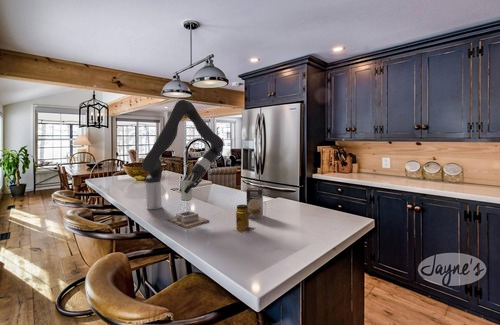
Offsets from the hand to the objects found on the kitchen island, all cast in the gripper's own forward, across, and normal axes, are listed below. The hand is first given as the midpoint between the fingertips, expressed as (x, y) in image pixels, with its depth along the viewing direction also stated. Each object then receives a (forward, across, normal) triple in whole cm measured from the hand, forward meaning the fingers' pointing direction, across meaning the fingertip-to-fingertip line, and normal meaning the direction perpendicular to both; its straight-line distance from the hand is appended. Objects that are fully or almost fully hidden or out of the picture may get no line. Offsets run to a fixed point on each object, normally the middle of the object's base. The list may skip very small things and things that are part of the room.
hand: (183, 191), depth 139 cm
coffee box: (-11, +22, +34) cm, 42 cm away
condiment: (+2, +32, +22) cm, 39 cm away
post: (+2, 0, +4) cm, 5 cm away
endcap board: (+10, 0, +13) cm, 16 cm away
